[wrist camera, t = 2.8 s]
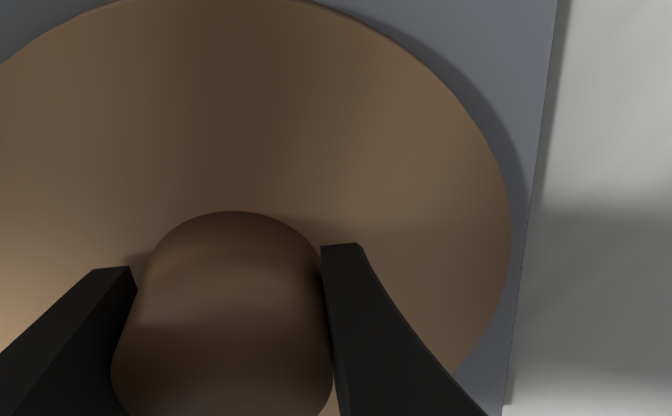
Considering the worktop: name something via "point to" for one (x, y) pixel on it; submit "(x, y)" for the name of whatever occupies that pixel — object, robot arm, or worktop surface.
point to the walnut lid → (241, 194)
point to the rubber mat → (466, 84)
